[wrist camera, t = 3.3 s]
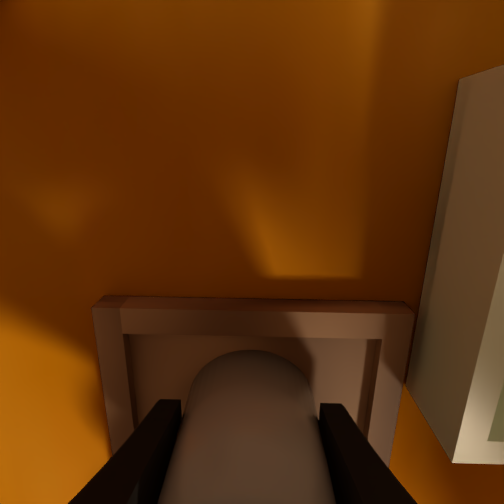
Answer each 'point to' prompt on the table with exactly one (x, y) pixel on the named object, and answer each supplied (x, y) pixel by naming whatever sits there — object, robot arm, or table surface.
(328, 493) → the stone
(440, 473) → the table surface
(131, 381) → the shallow brown tray
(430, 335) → the bin
